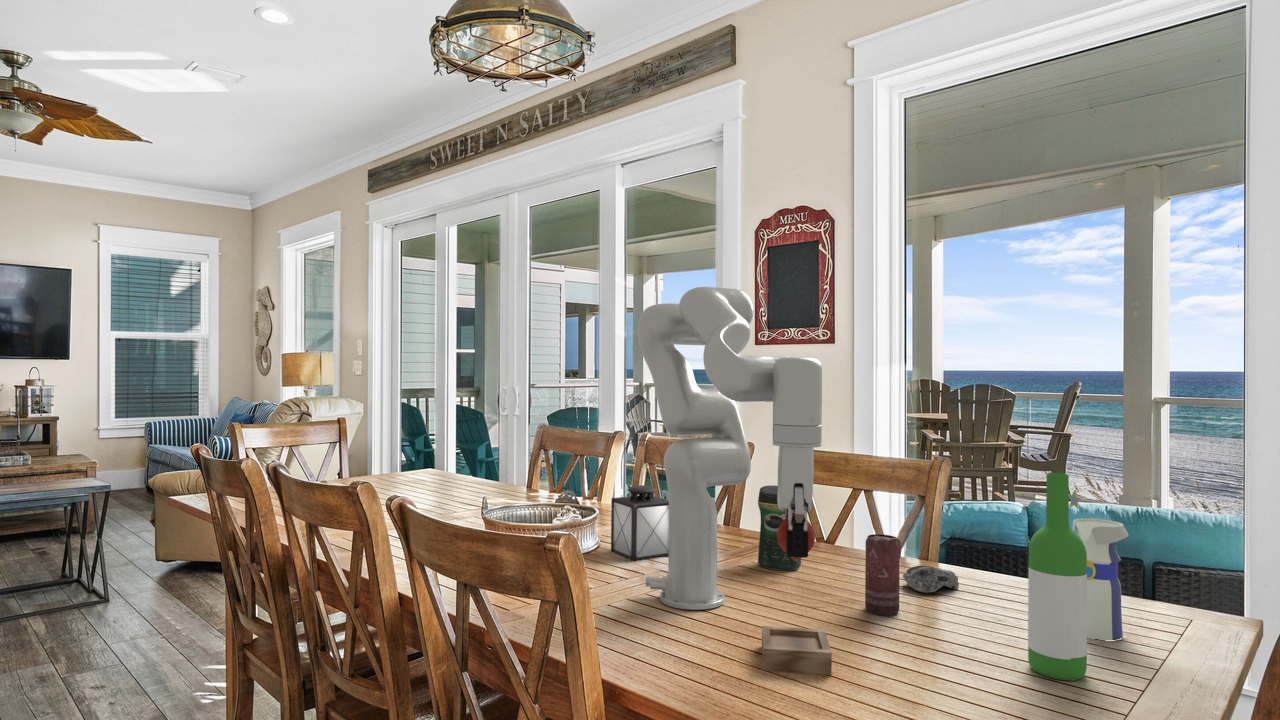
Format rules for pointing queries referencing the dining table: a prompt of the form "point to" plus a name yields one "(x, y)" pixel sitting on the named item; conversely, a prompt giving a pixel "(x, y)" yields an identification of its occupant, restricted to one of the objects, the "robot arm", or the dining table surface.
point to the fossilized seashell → (930, 578)
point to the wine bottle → (1057, 590)
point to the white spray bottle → (1101, 574)
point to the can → (882, 574)
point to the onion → (783, 536)
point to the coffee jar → (772, 532)
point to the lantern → (640, 523)
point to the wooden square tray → (796, 650)
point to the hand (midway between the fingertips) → (795, 550)
